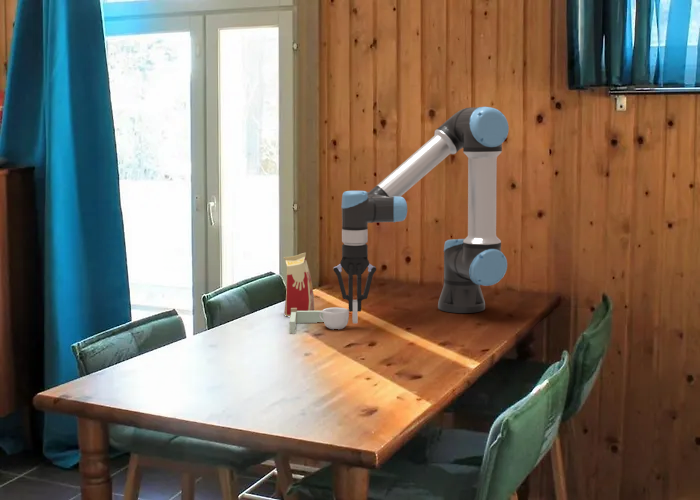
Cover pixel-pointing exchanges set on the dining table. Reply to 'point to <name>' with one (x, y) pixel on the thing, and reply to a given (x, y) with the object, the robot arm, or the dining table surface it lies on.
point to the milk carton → (298, 285)
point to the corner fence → (303, 318)
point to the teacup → (335, 317)
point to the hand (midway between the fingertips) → (354, 322)
